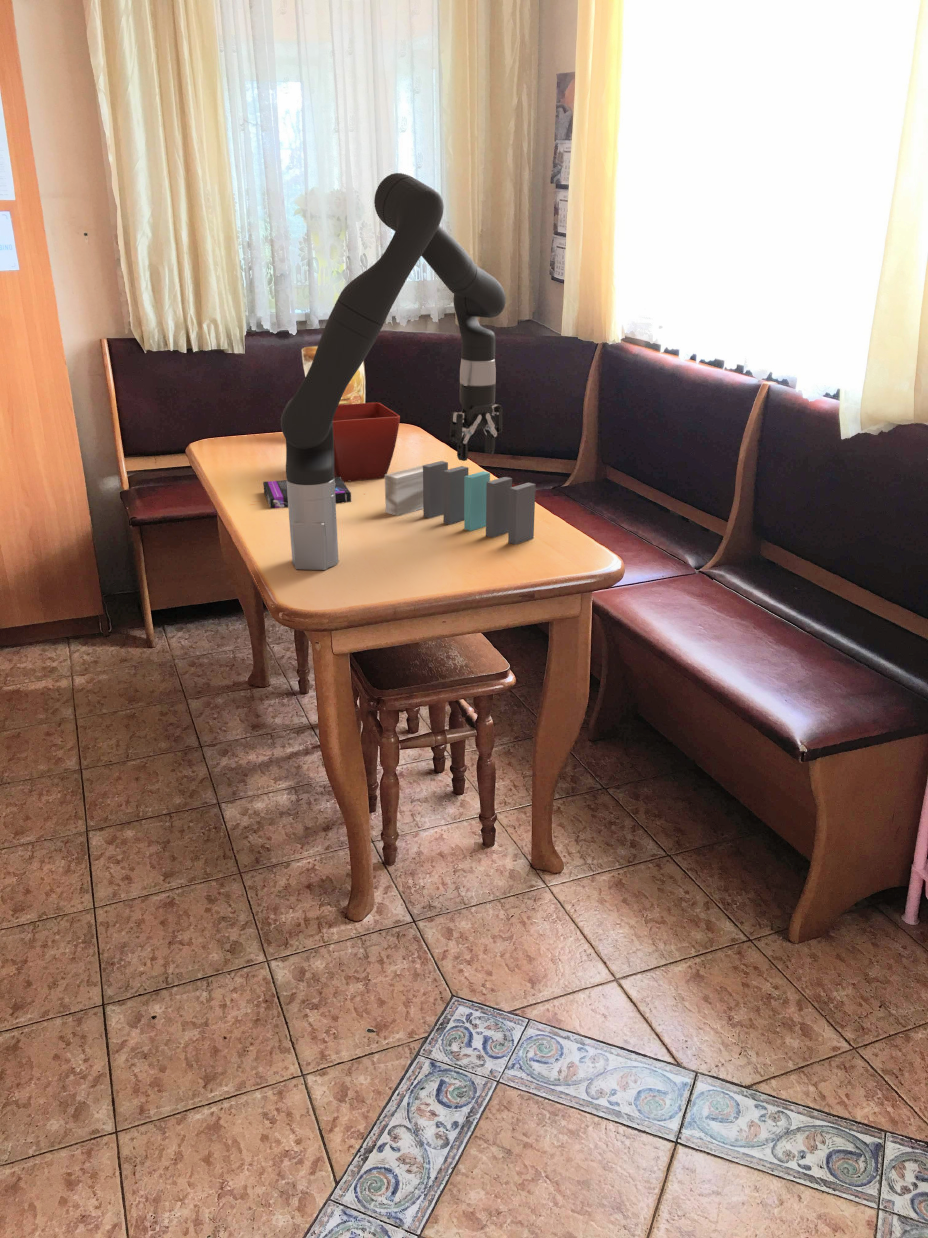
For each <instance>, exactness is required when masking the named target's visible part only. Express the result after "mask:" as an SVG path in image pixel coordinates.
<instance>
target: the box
mask: <svg viewBox="0 0 928 1238" xmlns="http://www.w3.org/2000/svg"><path fill="white" fill-rule="evenodd" d="M334 479H335V500H336V504H341V503H342V502H344V503H351V502H352V492H351V491H350V490H349V488H348V487H347V485H346V484H345V482H343V481H342V479H341V477H334ZM262 484H263V493H264V496H265V498H266V500H267V503H268V505H269V506H268V507H269V508H270V509H280V508H281V509H283V508H288V494H287V479H285V480H270V481H263V483H262ZM342 504H343V503H342Z"/></svg>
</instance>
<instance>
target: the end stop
mask: <svg viewBox="0 0 928 1238" xmlns="http://www.w3.org/2000/svg"><path fill="white" fill-rule="evenodd" d="M427 464H428V463H425V465H427ZM423 465H424V464H423ZM423 465H419V466H418V465H417V466H415V467H410V468H407V469H402V470H398V471H395V472H390V473H387V474H386V475H385V478H384V496H385V513H386V514H389V515H393V516H396V517H399V516H402V515H406V514H410V513H412V512H416V511H420V510H423Z"/></svg>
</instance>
